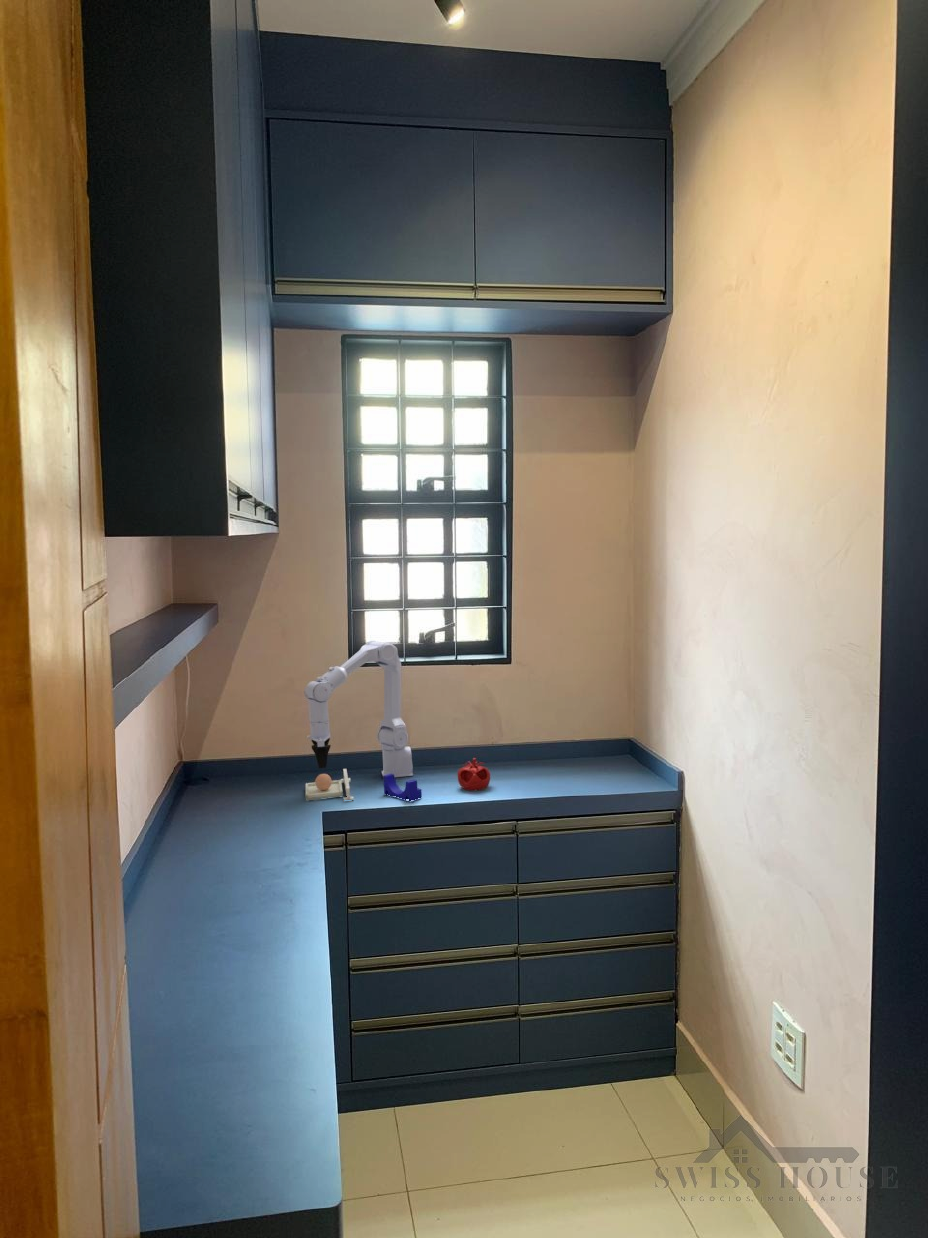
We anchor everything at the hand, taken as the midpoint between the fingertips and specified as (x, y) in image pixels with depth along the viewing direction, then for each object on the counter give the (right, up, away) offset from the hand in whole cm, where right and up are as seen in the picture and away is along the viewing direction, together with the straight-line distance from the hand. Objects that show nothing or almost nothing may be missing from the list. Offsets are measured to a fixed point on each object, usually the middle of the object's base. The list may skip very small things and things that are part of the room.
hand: (322, 764), depth 267 cm
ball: (0, -5, +1) cm, 6 cm away
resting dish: (0, -9, +1) cm, 9 cm away
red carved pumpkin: (+46, -7, -1) cm, 47 cm away
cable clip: (+25, -9, -6) cm, 27 cm away
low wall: (+7, -9, +2) cm, 11 cm away
